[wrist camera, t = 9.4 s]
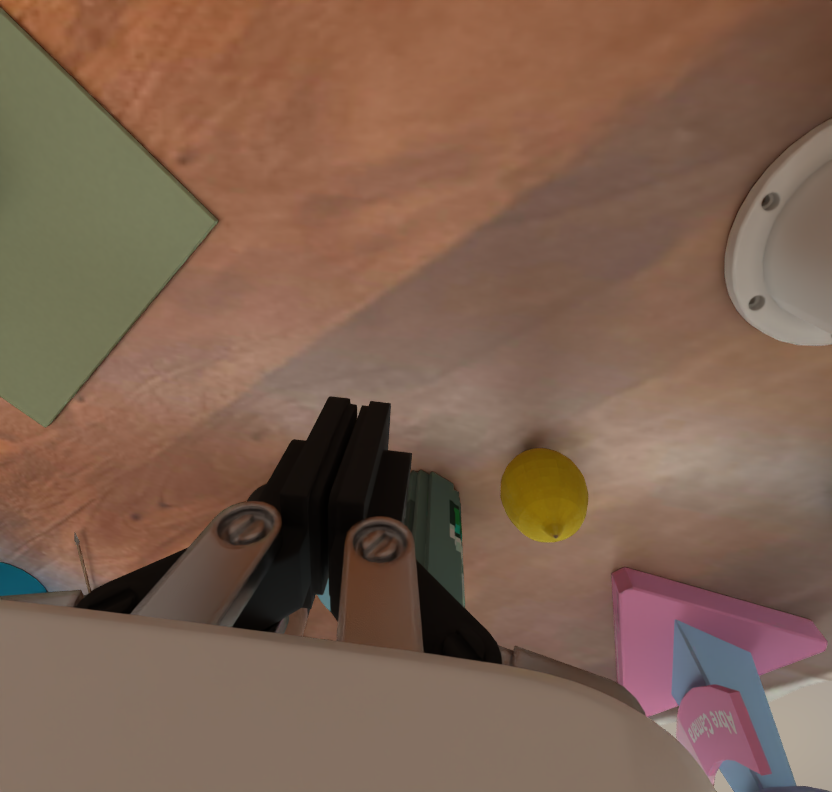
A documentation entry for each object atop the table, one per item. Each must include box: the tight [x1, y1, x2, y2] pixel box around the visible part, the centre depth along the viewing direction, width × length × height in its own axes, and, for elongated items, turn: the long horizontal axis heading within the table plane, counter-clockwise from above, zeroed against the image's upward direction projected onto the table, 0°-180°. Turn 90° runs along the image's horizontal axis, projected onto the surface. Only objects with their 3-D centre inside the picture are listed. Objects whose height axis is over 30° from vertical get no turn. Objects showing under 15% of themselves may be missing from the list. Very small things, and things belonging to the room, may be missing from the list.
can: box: [404, 470, 465, 608], centre depth 30 cm, size 6×6×15 cm
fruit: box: [501, 448, 588, 542], centre depth 30 cm, size 6×6×8 cm
